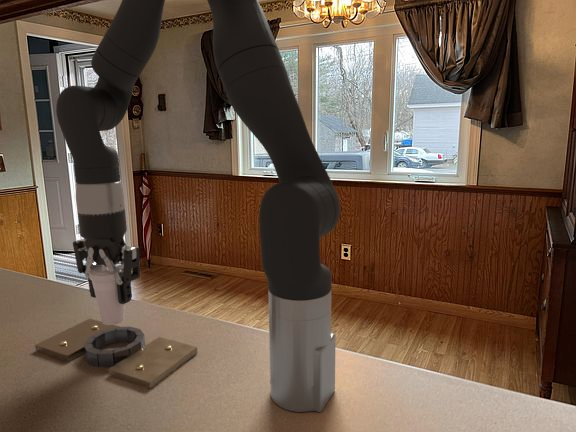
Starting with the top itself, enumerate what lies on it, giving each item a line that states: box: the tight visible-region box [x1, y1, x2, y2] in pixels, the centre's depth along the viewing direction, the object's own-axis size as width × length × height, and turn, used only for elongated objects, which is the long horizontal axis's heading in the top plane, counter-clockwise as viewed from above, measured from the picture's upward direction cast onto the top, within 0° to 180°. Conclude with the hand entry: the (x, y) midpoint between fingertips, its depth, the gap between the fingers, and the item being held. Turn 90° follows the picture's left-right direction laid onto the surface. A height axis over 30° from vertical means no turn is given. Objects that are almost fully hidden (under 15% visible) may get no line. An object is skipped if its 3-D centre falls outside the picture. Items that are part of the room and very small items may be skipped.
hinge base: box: [34, 318, 198, 390], centre depth 78 cm, size 28×12×2 cm, turn 64°
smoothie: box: [89, 263, 126, 325], centre depth 76 cm, size 6×6×14 cm
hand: (110, 298), depth 76 cm, fingers closed on smoothie, 6 cm apart
